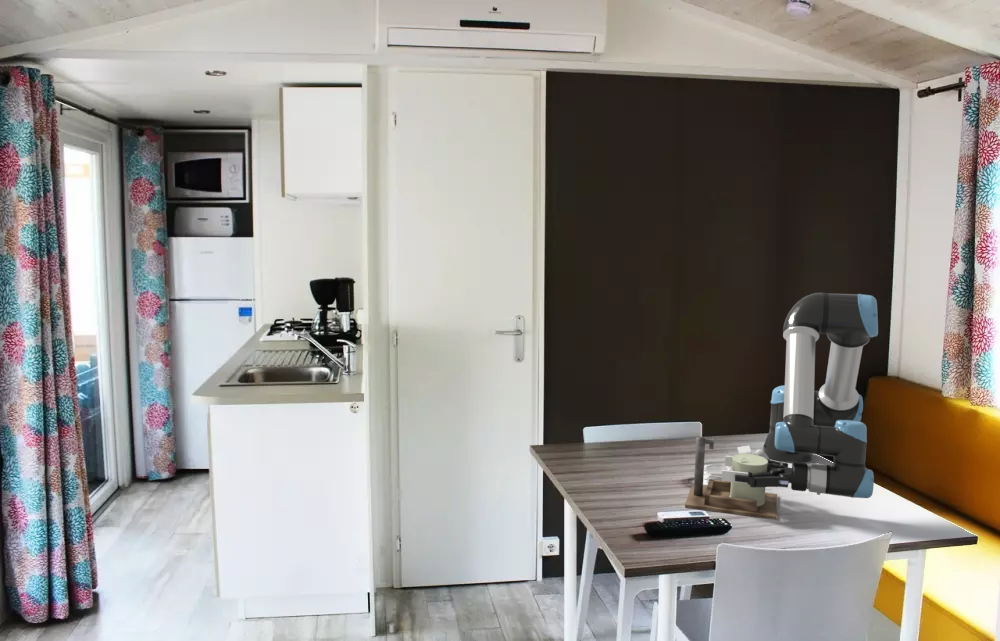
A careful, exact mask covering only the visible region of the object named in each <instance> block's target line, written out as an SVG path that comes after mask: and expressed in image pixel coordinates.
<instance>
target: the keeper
mask: <svg viewBox="0 0 1000 641" xmlns="http://www.w3.org/2000/svg"><path fill="white" fill-rule="evenodd" d="M714 442H715V440H714V438H708V437H704V436H703V437H702V436H696V438H695V458H694V459H695V460H694V461H695V462H694V480H693V481H694V483H691V487H690V489H689V493H688V495H687V497H686V501H685V503H684V508H687V509H693V510H702V511H708V512H717V513H722V514H723V513H725V514H731V515H732V514H733V515H740V516H746V517H753V518H754V517H755V518H760V517H761V519H768V520H778V493H772V492H765V503H764V505H762V506H758V507H757V501H755V500H747V499H739V498H732V497H729V496H730V490H731V482H729V481H722V479H721V480H719V479H713V478H709V479H708V483H707V484H704V474H705V473H704V472H705V453H706V445H709V447H708V449H709V450H714V448H715V447H714Z"/></svg>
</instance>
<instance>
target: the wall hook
mask: <svg viewBox="0 0 1000 641" xmlns="http://www.w3.org/2000/svg"><path fill="white" fill-rule="evenodd" d="M736 448H737V452H738V453H737V454H754V455H758V456H761V457H764V458H765V459H769V460H771V458H769V457H768V456H767V455H766V453H765V452H764V451H763V449H756V451H754V453H752V450H751V447H750V445H742V446H737V447H736Z"/></svg>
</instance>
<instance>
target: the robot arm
mask: <svg viewBox="0 0 1000 641" xmlns="http://www.w3.org/2000/svg"><path fill="white" fill-rule="evenodd" d="M782 333H783V334H782V337H783V339H784V340H785V341H786V346H785V369H784V370H785V372H784V374H785V375H784V385H779V386H777V387H775V388H774V389H772V393H771V400H770V404H771V406H770V407H771V408H770V420H769V430H768V431H769V432H768V433H767V437H766V439H765V442H764V443H763V445H762V450H763V451H764V452H765V453H766V455H767V456H768V457H769V459H770V460H769V459H767V460H768V465H767V472H765V473H757V474H752V473H751V472H748V473H746V472H737V471H732V470H727V469H722V470H721V481H729V482H738V483H746V484H747V483H748V484H749V485H750V487H752V488H753V487H765V488H776V487H777V488H789V484H790V489H791V490H792V491H797V492H798V491H799V492H807V490H808V493H816V495H818V496H820V495H821V494H825V495H832V496H840V497H848V498H851V499H853V498H854V499H856V498H857V499H858V498H859V499H870V498H871V497H872V496H873V493H874V487H875V485H874V484H875V483H874V482H875V479H874V478H875V477H874V472H873V470H872V469H868V468H867V467H866V452H867V443H868V440H867V439H868V438H867V437H868V435H867V434H868V433H867V432H868V431H867V429H868V428H867V426H866V424H865V423H864V422H863V421H862V413H863V410H864V400H863V399H864V398H863V396H862V395H861V394H859V392H858V391H857V388H856V387H857V381H858V376H859V369H860V364H861V359H862V353H863V348H864V346H865V345H867V344H868V343H869V342H870V340H871V338H874V337H878V335H879V319H878V302H877V299H876V298H875V297H874V296H873V295H869V294H862V293H855V294H853V293H831V292H830V293H827V292H815V293H810V294H809V295H808V294H807V295H806V296H804V297H802V298H801V299H799V300H798V301H797V302H796V303H795V304H794V305H793V306H792V308H791V309H790V310H789V312H788V313H787V316H786V317H785V319H784V323H783V328H782ZM820 334H821V335H827V338H828V340H829V341H830V346H829V347H830V348H829V355H828V363H827V369H826V377H825V383H824V384H823V385H822V386H821V387H820V388H819V390H815V374H816V373H815V370H816V369H815V368H816V342H817V341H818V340H819V338H820ZM861 421H862V422H861ZM813 455H818V456H825V457H826V456H828V457H833V460H832V462H833V465H830V464H824V463H816V462H810V463H809V464H808V462H809V461H811V460H812V459H813ZM733 456H734V455H725V457H724V458H725V459H724V466H726V467H732V457H733ZM789 463H791V464H792V465H791V467H789Z"/></svg>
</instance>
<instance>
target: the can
mask: <svg viewBox="0 0 1000 641" xmlns="http://www.w3.org/2000/svg"><path fill="white" fill-rule="evenodd" d="M754 454H755V453H752V454H739V453H736V454H734V455H732V456H733V457H732V466H731V471H737V472H746V473H748V472H751V473H752V474H757V473H765V472H767V465H768V460H767V459H765V458H764V457H761V456H758V455H754ZM765 493H766V487H753V488H752V487H750V485H749V484H748V483H747V484H746V483H738V482H731V490H730V496H729V497H732V498H739V499H747V500H755V501H757V507H758V506H762V505H764V503H765Z"/></svg>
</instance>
